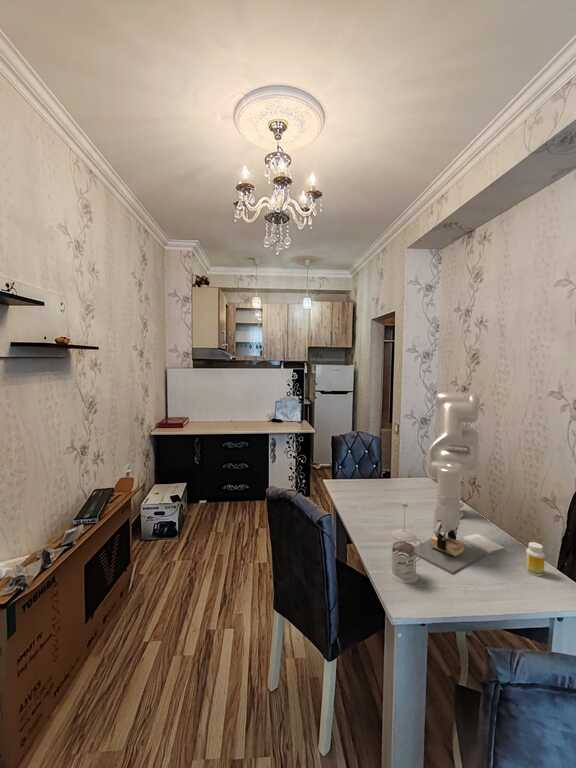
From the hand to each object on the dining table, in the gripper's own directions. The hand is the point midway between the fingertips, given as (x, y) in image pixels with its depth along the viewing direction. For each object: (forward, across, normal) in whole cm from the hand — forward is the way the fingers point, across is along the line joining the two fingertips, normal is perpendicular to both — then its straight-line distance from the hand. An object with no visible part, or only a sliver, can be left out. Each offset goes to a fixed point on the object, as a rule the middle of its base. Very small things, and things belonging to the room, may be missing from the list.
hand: (446, 546), depth 135 cm
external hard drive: (+4, -19, +4) cm, 20 cm away
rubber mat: (+3, 0, 0) cm, 3 cm away
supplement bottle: (+3, -14, +24) cm, 28 cm away
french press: (+3, +24, 0) cm, 24 cm away
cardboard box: (+1, 0, 0) cm, 1 cm away
